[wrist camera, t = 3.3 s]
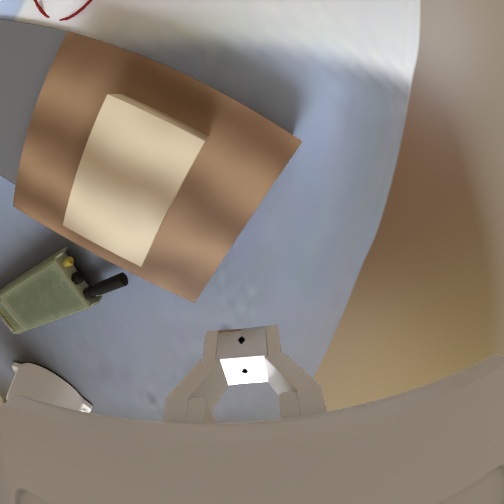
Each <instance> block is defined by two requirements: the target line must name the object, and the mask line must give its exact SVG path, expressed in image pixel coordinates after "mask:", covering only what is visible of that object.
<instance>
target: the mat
mask: <svg viewBox="0 0 504 504" xmlns="http://www.w3.org/2000/svg"><path fill="white" fill-rule="evenodd" d="M66 34H67V32H66V31H62V30H58V29H54V28H49V27H44V26H40V25H34V24H29V23H23V22H16V21H9V20H0V175H1V176H2V177H4V178H6V179H7V180H9V181H10V182H12V183H14V184H15V185H16V181H17V175H18V170H19V165H20V160H21V155H22V151H23V147H24V143H25V139H26V135H27V132H28V128H29V125H30V121H31V118H32V115H33V112H34V109H35V106H36V103H37V100H38V97H39V94H40V92H41V89H42V86H43V84H44V81H45V79H46V76H47V74H48V72H49V69H50V67H51V65H52V62H53V60H54V58H55V56H56V54H57V52H58V50H59V48H60V46H61V44H62V42H63V40H64V38H65V36H66Z"/></svg>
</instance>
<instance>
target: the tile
mask: <svg viewBox="0 0 504 504" xmlns="http://www.w3.org/2000/svg"><path fill="white" fill-rule="evenodd" d="M208 137H209V136H207V135H205V134H204V133H202V132H200V131H198V130H196V129H194V128H192V127H190V126H188V125H186V124H184V123H182V122H180V121H178V120H176V119H174V118H172V117H170V116H168V115H166V114H164V113H162V112H160V111H158V110H156V109H154V108H152V107H150V106H148V105H145V104H143V103H141V102H139V101H137V100H135V99H132V98H130V97H128V96H126V95H123V94H107V96H106V98H105V101H104V103H103V105H102V107H101V109H100V112H99V114H98V116H97V119H96V121H95V123H94V126H93V128H92V131H91V133H90V136H89V139H88V141H87V144H86V147H85V149H84V152H83V155H82V158H81V161H80V164H79V167H78V170H77V173H76V176H75V180H74V183H73V187H72V190H71V194H70V197H69V201H68V205H67V209H66V213H65V217H64V222H63V226H65V227H67V228H68V229H70V230H72V231H74V232H76V233H77V234H79V235H81V236H83V237H85V238H86V239H88V240H90V241H92V242H94V243H96V244H98V245H99V246H101V247H103V248H105V249H107V250H109V251H111V252H113V253H115V254H116V255H118V256H120V257H122V258H124V259H126V260H128V261H130V262H132V263H134V264H136V265H138V266H140V267H141V266H142V264H143V262H144V260H145V258H146V256H147V254H148V252H149V250H150V248H151V246H152V244H153V242H154V239H155V237H156V235H157V233H158V231H159V229H160V227H161V225H162V223H163V221H164V219H165V216H166V214H167V212H168V210H169V208H170V206H171V205H172V203H173V201H174V199H175V197H176V195H177V193H178V191H179V189H180V187H181V185H182V183H183V182H184V180H185V178H186V176H187V174H188V172H189V171H190V169H191V167H192V165H193V163H194V162H195V160H196V158H197V156H198V154H199V153H200V151H201V149H202V148H203V146H204V144H205V142H206V141H207V139H208Z"/></svg>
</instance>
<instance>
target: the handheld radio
mask: <svg viewBox="0 0 504 504" xmlns="http://www.w3.org/2000/svg"><path fill="white" fill-rule="evenodd" d="M66 250H67V247H65V248H63V249H61V250H60V251H58V252H56V253H55V254H53V255H51V256H50V257H48V258H47V259H45V260H43V261H42V262H40V263H39V264H37V265H36V266H34V267H33V268H31V269H30V270H28V271H27V272H25V273H24V274H22V275H21V276H19V277H18V278H16V279H15V280H13V281H12V282H10V283H9V284H8V285H6V286H5V287H3V288H2V289H1V290H0V319H1V321H2V322H3V323H4V324H5V325H6V327H7V328H8V329H9V330H10V331H11V332H12V333H13V334H15V335H16V334H19V333H22V332H25V331H27V330H30V329H33V328H36V327H38V326H41V325H44V324H47V323H50V322H52V321H55V320H58V319H61V318H63V317H66V316H69V315H72V314H75V313H77V312H80V311H83V310H86V309H88V308H89V307H91V306H93V305H95V304H97V303H99V301H100V300H101V298H102V296H96V295H102V294H104V293H107V292H110V291H112V290H115V289H118V288H120V287H123V286H126V285H127V284H128V278H127V276H126V275H125V274H124V273H120V274H117V275H115V276H113V277H110V278H108V279H105V280H103V281H101V282H98V283H96V284H94V286H88V284H87V283H86V282H85V274H84V273H83V272H82V271H77V269H76V268H75V266H74V265H73V263H74V260H73V258H72V257H70V256H69V257H68V256H67V254H66V253H65V251H66Z"/></svg>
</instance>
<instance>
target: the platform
mask: <svg viewBox="0 0 504 504" xmlns="http://www.w3.org/2000/svg"><path fill="white" fill-rule="evenodd" d="M107 94H123V95H126V96H128V97H130V98H132V99H135V100H137V101H139V102H141V103H143V104H145V105H148V106H150V107H152V108H154V109H156V110H158V111H160V112H162V113H164V114H166V115H168V116H170V117H172V118H174V119H176V120H178V121H180V122H182V123H184V124H186V125H188V126H190V127H192V128H194V129H196V130H198V131H200V132H202V133H204V134H205V135H207V136H209V137H208V139H207V141H206V142H205V144H204V146H203V148H202V149H201V151H200V153H199V154H198V156H197V158H196V160H195V162H194V163H193V165H192V167H191V169H190V171H189V172H188V174H187V176H186V178H185V180H184V182H183V183H182V185H181V187H180V189H179V191H178V193H177V195H176V197H175V199H174V201H173V203H172V205H171V206H170V208H169V210H168V212H167V214H166V216H165V219H164V221H163V223H162V225H161V227H160V229H159V231H158V233H157V235H156V237H155V239H154V242H153V244H152V246H151V248H150V250H149V252H148V254H147V256H146V258H145V260H144V262H143V264H142V266H141V267H140V266H138V265H136V264H134V263H132V262H130V261H128V260H126V259H124V258H122V257H120V256H118V255H116V254H115V253H113V252H111V251H109V250H107V249H105V248H103V247H101V246H99V245H98V244H96V243H94V242H92V241H90V240H88V239H86V238H85V237H83V236H81V235H79V234H77V233H76V232H74V231H72V230H70V229H68V228H67V227H65V226H63V222H64V217H65V213H66V209H67V205H68V201H69V197H70V194H71V190H72V187H73V183H74V180H75V176H76V173H77V170H78V167H79V164H80V161H81V158H82V155H83V152H84V149H85V147H86V144H87V141H88V139H89V136H90V133H91V131H92V128H93V126H94V123H95V121H96V119H97V116H98V114H99V112H100V109H101V107H102V105H103V103H104V101H105V98H106V96H107ZM301 143H302V141H301V140H299V139H298V138H296V137H295V136H293V135H292V134H290V133H289V132H287V131H286V130H284V129H283V128H281V127H279V126H278V125H276V124H275V123H273V122H272V121H270V120H268V119H267V118H265V117H263V116H262V115H260V114H258V113H257V112H255V111H253V110H252V109H250V108H248V107H246V106H245V105H243V104H241V103H239V102H238V101H236V100H234V99H232V98H230V97H229V96H227V95H225V94H223V93H221V92H219V91H217V90H215V89H214V88H212V87H210V86H208V85H206V84H204V83H202V82H200V81H198V80H196V79H194V78H191V77H189V76H187V75H185V74H183V73H181V72H179V71H177V70H174V69H172V68H170V67H168V66H165V65H163V64H161V63H158V62H156V61H154V60H151V59H149V58H146V57H144V56H141V55H139V54H136V53H133V52H131V51H128V50H125V49H123V48H120V47H117V46H114V45H111V44H108V43H105V42H102V41H99V40H96V39H93V38H89V37H86V36H82V35H79V34H75V33H71V32H67V34H66V36H65V38H64V40H63V42H62V44H61V46H60V48H59V50H58V52H57V54H56V56H55V58H54V60H53V62H52V65H51V67H50V69H49V72H48V74H47V76H46V79H45V81H44V84H43V86H42V89H41V92H40V94H39V97H38V100H37V103H36V106H35V109H34V112H33V115H32V118H31V121H30V125H29V128H28V132H27V135H26V139H25V143H24V147H23V151H22V155H21V160H20V165H19V170H18V175H17V181H16V187H15V194H14V201H13V206H14V207H16V208H17V209H19V210H20V211H22V212H24V213H25V214H27V215H28V216H30V217H32V218H33V219H35V220H36V221H38V222H40V223H41V224H43V225H45V226H46V227H48V228H50V229H51V230H53V231H55V232H57V233H58V234H60V235H62V236H63V237H65V238H67V239H69V240H70V241H72V242H74V243H76V244H78V245H79V246H81V247H83V248H85V249H87V250H88V251H90V252H92V253H94V254H96V255H98V256H100V257H101V258H103V259H105V260H107V261H109V262H111V263H113V264H115V265H117V266H119V267H121V268H123V269H125V270H127V271H129V272H131V273H133V274H135V275H137V276H139V277H141V278H143V279H145V280H147V281H149V282H151V283H153V284H155V285H157V286H159V287H161V288H163V289H166V290H168V291H170V292H172V293H174V294H176V295H179V296H181V297H183V298H185V299H187V300H190V301H192V302H194V303H195V301H196V300H197V298H198V297H199V295H200V294H201V292H202V290H203V289H204V287H205V286H206V284H207V283H208V281H209V280H210V278H211V277H212V275H213V273H214V272H215V270H216V269H217V267H218V266H219V264H220V263H221V261H222V260H223V258H224V257H225V255H226V254H227V252H228V251H229V249H230V248H231V246H232V245H233V243H234V241H235V240H236V238H237V237H238V235H239V234H240V232H241V231H242V229H243V228H244V226H245V225H246V223H247V222H248V220H249V219H250V217H251V216H252V214H253V213H254V211H255V210H256V209H257V207H258V206H259V204H260V203H261V201H262V200H263V198H264V197H265V195H266V194H267V192H268V191H269V189H270V188H271V186H272V185H273V183H274V182H275V180H276V179H277V178H278V176H279V175H280V173H281V172H282V170H283V169H284V167H285V166H286V164H287V163H288V162H289V160H290V159H291V157H292V156H293V154H294V153H295V151H296V150H297V149H298V147H299V146H300V144H301Z"/></svg>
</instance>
